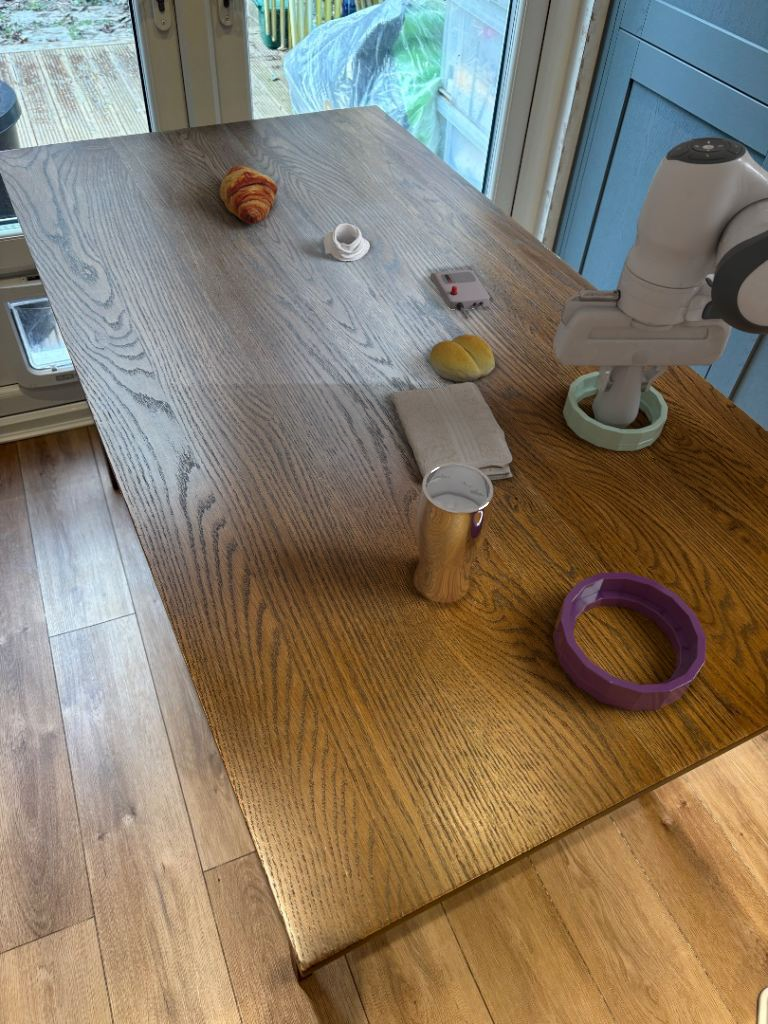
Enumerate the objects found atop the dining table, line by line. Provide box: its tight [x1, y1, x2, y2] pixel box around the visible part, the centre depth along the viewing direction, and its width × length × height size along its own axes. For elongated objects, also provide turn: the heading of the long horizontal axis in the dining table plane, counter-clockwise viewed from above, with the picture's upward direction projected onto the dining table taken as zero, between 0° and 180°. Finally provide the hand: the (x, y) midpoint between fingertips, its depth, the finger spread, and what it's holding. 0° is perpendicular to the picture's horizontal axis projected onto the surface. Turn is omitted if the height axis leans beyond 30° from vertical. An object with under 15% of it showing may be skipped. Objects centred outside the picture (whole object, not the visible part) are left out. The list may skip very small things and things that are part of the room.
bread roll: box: [429, 334, 496, 383], centre depth 105 cm, size 8×9×4 cm
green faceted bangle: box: [562, 370, 669, 452], centre depth 98 cm, size 13×13×4 cm
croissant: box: [219, 165, 278, 225], centre depth 135 cm, size 21×10×8 cm, turn 14°
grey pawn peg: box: [591, 351, 650, 429], centre depth 94 cm, size 6×6×13 cm
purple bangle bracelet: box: [552, 571, 707, 712], centre depth 73 cm, size 14×14×4 cm
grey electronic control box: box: [430, 269, 491, 320], centre depth 119 cm, size 7×16×3 cm, turn 15°
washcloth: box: [389, 381, 513, 481], centre depth 94 cm, size 12×18×3 cm, turn 15°
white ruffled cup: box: [322, 222, 371, 263], centre depth 125 cm, size 8×7×5 cm
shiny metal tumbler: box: [413, 462, 494, 604], centre depth 74 cm, size 7×7×15 cm
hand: (622, 389), depth 95 cm, fingers closed on grey pawn peg, 3 cm apart
